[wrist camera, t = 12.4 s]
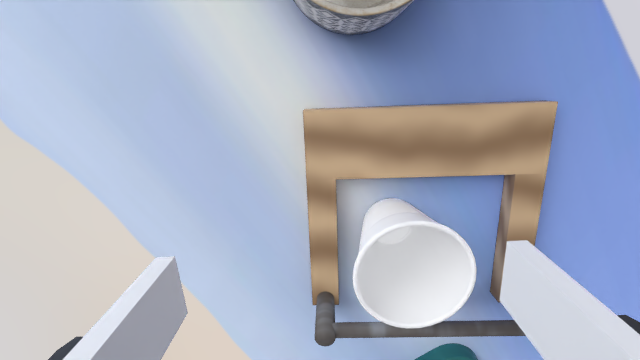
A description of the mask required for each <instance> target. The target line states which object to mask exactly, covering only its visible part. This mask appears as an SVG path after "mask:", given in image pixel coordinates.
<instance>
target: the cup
mask: <svg viewBox="0 0 640 360" xmlns="http://www.w3.org/2000/svg"><path fill="white" fill-rule="evenodd" d="M476 271H477V269H476V262H475V258H474V255H473V253H472V250H471V248H470V247H469V245H468V244H467V243H466V241H465V240H464V239H463V238H462V237H461V236H460V235H459V234H458V233H457V232H455V231H454V230H452V229H450V228H448V227H447V226H444V225H441V224H439V223H437V222H436V221H434V220H433V219H431V218H430V217H428V216H427V215H425V214H424V213H422V212H421V211H419V210H418V209H416V208H415V207H414V206H412V205H411V204H409V203H408V202H406V201H404V200H401V199H397V198H387V199H383V200H381V201H378V202H377V203H375V204H374V205H372V206H371V207H370V208H369V209H368V211H367V212H366V214H365V217H364V220H363V226H362V233H361V240H360V247H359V253H358V257H357V259H356V261H355V264H354V270H353V286H354V290H355V293H356V296H357V298H358V300H359V302H360V304H361V305H362V306H363V307H364V308H365V310H366V311H367V312H368V313H369V314H371V315H372V316H373V317H374V318H376V319H377V320H379V321H381V322H383V323H385V324H388V325H391V326H394V327H400V328H407V329H408V328H422V327H427V326H431V325H434V324H437V323H440V322H442V321H444V320H445V319H447V318H449V317H451V316H452V315H453V314H454V313H456V312H457V311H458V310H459V309H460V308H461V307H462V306H463V305H464V304H465V302H466V301H467V300H468V298H469V296H470V294H471V293H472V291H473V288H474V284H475V281H476Z"/></svg>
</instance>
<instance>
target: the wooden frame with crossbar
mask: <svg viewBox="0 0 640 360" xmlns="http://www.w3.org/2000/svg"><path fill="white" fill-rule="evenodd" d="M557 104H558V102H555V101H519V102H490V103H462V104H434V105H405V106H377V107H348V108H320V109H304V110H303V119H304V139H305V159H306V179H307V199H308V219H309V239H310V259H311V279H312V299H313V305H316V324H315V341H316V342H317V343H318V344H319V345H321V346H329V345H331V344H333V343H334V341H335V338H379V337H465V336H526V335H525V334H524V332H523V331H522V330H521V328H520V327H519V326H518V324H517V323H516V322H515V320H494V321H442V322H440V323H437V324H434V325H431V326H427V327H422V328H408V329H407V328H400V327H394V326H391V325H388V324H385V323H383V322H343V323H335V305H339V289H338V247H337V205H336V179H369V178H405V177H441V176H477V175H505V177H504V184H503V192H502V200H501V208H500V216H499V224H498V232H497V240H496V248H495V256H494V264H493V272H492V280H491V288H490V292H491V293H492V295H493V296H494V297H495V299H496V300H497V301H498V302H500V301H499V300H500V292H501V284H502V276H503V268H504V260H505V252H506V245H507V241H520V240H527V241H529V242H530V243H531V244H532V245H533V246H535V240H536V233H537V227H538V221H539V215H540V209H541V203H542V197H543V190H544V184H545V178H546V172H547V166H548V160H549V153H550V147H551V141H552V135H553V129H554V123H555V116H556V110H557Z"/></svg>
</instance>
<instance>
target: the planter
mask: <svg viewBox="0 0 640 360" xmlns="http://www.w3.org/2000/svg"><path fill="white" fill-rule="evenodd" d="M413 1H414V0H294V2H295V3H296V5H297V6H298V7H299V9H300V10H301V11H302V12H303V13H304V14H305V15H306V16H307V17H308V18H309V19H310V20H311V21H313V22H314V23H315V24H317V25H319V26H320V27H322V28H324V29H326V30H329V31H332V32H335V33H340V34H348V35H355V34H363V33H368V32H371V31H374V30H377V29H379V28H381V27H383V26H385V25H386V24H388V23H389V22H391V21H392V20H394V19H395V18H396V17H397V16H398V15H399V14H400V13H401V12H403V11H404V10H405V9H406V8H407V7H408V6H409V5H410V4H411V3H412V2H413Z"/></svg>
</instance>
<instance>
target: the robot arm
mask: <svg viewBox="0 0 640 360" xmlns="http://www.w3.org/2000/svg"><path fill="white" fill-rule="evenodd" d="M499 301H500V302H501V303H502V305H503V306H504V307H505V309H506V310H507V311H508V312H509V314H510V315H511V316H512V318H513V319H514V320H515V322H516V323H517V324H518V326H519V327H520V328H521V330H522V331H523V332H524V334H525V335H526V336H527V338H528V339H529V340H530V341H531V343H532V344H533V345H534V347H535V348H536V349H537V351H538V352H539V353H540V355H541V356H542V357H543V359H544V360H640V322H638V321H636V320H634V319H632V318H631V317H629V316H627V315H616V314H615V313H613V312H612V311H611V310H610V309H609V308H607V307H606V306H605V305H604V304H603V303H601V302H600V301H599V300H598V299H597V298H595V297H594V296H593V295H592V294H591V293H589V292H588V291H587V290H586V289H585V288H584V287H582V286H581V285H580V284H579V283H578V282H576V281H575V280H574V279H573V278H572V277H570V276H569V275H568V274H567V273H566V272H564V271H563V270H562V269H561V268H560V267H558V266H557V265H556V264H555V263H554V262H552V261H551V260H550V259H549V258H548V257H547V256H545V255H544V254H543V253H542V252H541V251H539V250H538V249H537V248H536V247H535V246H533V245H532V244H531V243H530V242H529V241H527V240H520V241H507V245H506V252H505V260H504V268H503V276H502V284H501V292H500V300H499ZM186 315H187V308H186V303H185V299H184V295H183V291H182V286H181V281H180V277H179V272H178V268H177V263H176V259H175V256H173V257H156V258H155V259H154V260H153V262H152V263H151V264H150V265H149V266H148V267H147V268H146V269H145V270H144V271H143V272H142V273H141V274H140V276H139V277H138V278H137V279H136V280H135V281H134V282H133V283H132V284H131V286H130V287H129V288H128V289H127V290H126V291H125V292H124V293H123V294H122V295H121V296H120V298H119V299H118V300H117V301H116V302H115V303H114V304H113V305H112V306H111V307H110V308H109V310H108V311H107V312H106V313H105V314H104V315H103V316H102V317H101V318H100V319H99V320H98V322H97V323H96V324H95V325H94V326H93V327H92V328H91V329H90V330H89V331H88V332H87V334H86V335H85V336H84V337H75V338H74V339H73V340H71V341H70V342H69V343H67V344H66V345H64V346H63V347H61V348H60V349H58V350H57V351H56V352H55V353H54V354H53V355H52V356H51V357H50V358H49V359H48V360H161V358H162V357H163V355H164V353H165V351H166V350H167V348H168V346H169V344H170V343H171V341H172V339H173V338H174V335H175V334H176V332H177V331H178V329H179V327H180V325H181V324H182V322H183V320H184V318H185V317H186Z"/></svg>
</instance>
